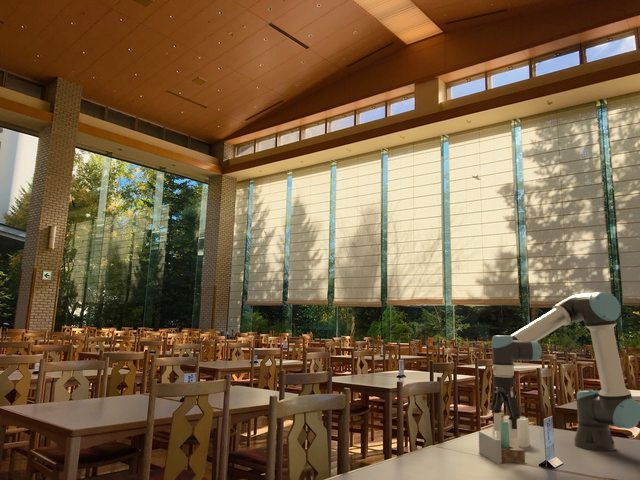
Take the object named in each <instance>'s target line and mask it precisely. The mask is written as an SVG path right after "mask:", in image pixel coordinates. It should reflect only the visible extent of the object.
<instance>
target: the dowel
mask: <svg viewBox="0 0 640 480" xmlns="http://www.w3.org/2000/svg"><path fill="white" fill-rule="evenodd" d="M500 430H501V448H509V422H506V421H504V420H501V421H500Z"/></svg>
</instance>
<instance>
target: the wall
mask: <svg viewBox="0 0 640 480" xmlns="http://www.w3.org/2000/svg"><path fill="white" fill-rule="evenodd" d="M478 453H479V454H480V455H482V456H483V457H485V458H487V459H488V460H490V461H491V462H493V463H494V464H497V465H500V464H502V463H503V462H502V458H501V440H500V439H498V438H496V437H494V436H493V434H490V433H488V432H486V431H485V430H478Z"/></svg>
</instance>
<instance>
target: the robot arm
mask: <svg viewBox="0 0 640 480" xmlns="http://www.w3.org/2000/svg"><path fill="white" fill-rule="evenodd" d="M551 308H552V309H551V310H550V311H548V312H546V313H545V314H543V315H541V316H540V317H539V318H537V319H535V320H533V321H531V322H530V323H529V324H527V325H525V326H523V327H521V328H520V329H518V330H517V331H515V332H514V333H512V334H510V335H500V334H499V335H497V334H496V335H493V336H492V338H491V351H492V352H491V354H492V367H491V369H492V374H493V375H494V376H493V377H492V378H493V380H492V384H493V386H494V387H493V394H492V399H491V405H490V410H491V411H492V413H493V426H494V430H495V432H496V431H501V430H500V421H502V408H503V405H505V407H506V411H507V413H508V416H509V438H518V435H517V420H518V419H520V417H521V414H520V410H519V407H518V402H517V398H516V392H515V390H511V388H514V387H515V378H514V377H513V376H515V367H514V365H515V364H514V361H528V362H529V361H530V362H533V361H538V360H540V359H541V357H542V353H543V350H542V347H541V346H542V345H540V343H539V342H538V341H540V340H541V339H543V338H545V337H546V336H548V335H549V334H551V333H552V332H554V331H556V330H557V329H559V328H560V327H562V326H569V325H570V324H572V323H575V322H582V321H583V323H584V327H585V328H587V329H588V330H589V332H590V335H591V336H590V337H591V342H592V347H593V351H594V357H595V361H596V368H597V372H598V373H597V374H598V378H599V382H600V387H601V389H600V390H579V391H578V392H577V393H576V410H577V429H576V432H575V435H574V441H573V443H574V445H575V446H577V447H579V448H582V449H587V450H593V451H602V452H606V451H607V452H608V451H610V452H611V451H615V450H616V445H615V441H614V438H613V436H612V434H611V431H610V426H612V427H616V428H619V429H626V430H627V429H628V430H630V429H634V428H635V427H637V425H639V423H640V403H639V402H638V401H637V400H635V399H634V398H633V396H632V393H631V390H629V389H627V388H626V383H625V378H624V373H623V369H622V363H621V360H620V354H619V350H618V343H617V341H616V338H617V337H616V335H615V330H614V327H615V326H616V325H617V324H618V323H617V319H618V318H619V317H620V314H621V312H622V311H621V304H620V301H619V300H618V299H617V297H616V296H614V295H613V294H612V293H610V292H606V291H593V292H580V293H576V294H572V295H570V296H568V297H566V298H564V299H563V300H561V301H560V302H558V303H556V304H555V305H553V306H552V307H551Z"/></svg>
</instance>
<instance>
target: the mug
mask: <svg viewBox="0 0 640 480" xmlns="http://www.w3.org/2000/svg"><path fill="white" fill-rule="evenodd" d="M503 421H506V422H509V415H504V416H503ZM517 424H518V447H519V448H521V447H522V448H523V447H524V448H525V447H530V446H531V444H530V419H529V418H528V417H525V416H520V419H518V420H517Z"/></svg>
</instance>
